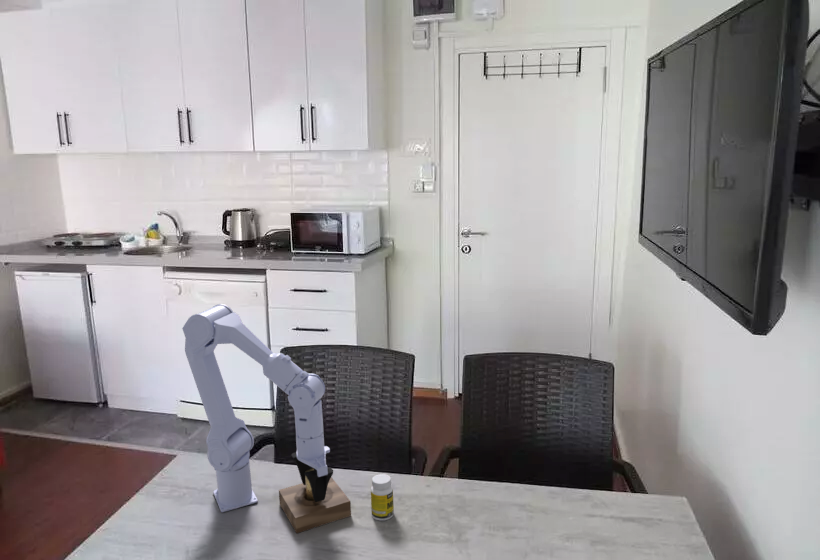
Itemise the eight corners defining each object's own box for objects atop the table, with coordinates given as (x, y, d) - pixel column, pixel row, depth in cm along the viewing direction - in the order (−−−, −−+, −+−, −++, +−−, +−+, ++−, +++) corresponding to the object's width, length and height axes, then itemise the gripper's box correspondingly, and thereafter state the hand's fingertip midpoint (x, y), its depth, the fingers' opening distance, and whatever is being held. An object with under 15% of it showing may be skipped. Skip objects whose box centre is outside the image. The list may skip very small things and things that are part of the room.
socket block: (279, 504, 132) (278, 490, 132) (331, 489, 138) (330, 475, 137) (296, 533, 122) (295, 518, 121) (351, 515, 128) (350, 500, 127)
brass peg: (305, 504, 130) (303, 470, 129) (318, 500, 132) (316, 467, 130) (310, 511, 128) (307, 477, 126) (323, 507, 129) (321, 473, 128)
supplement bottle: (391, 522, 125) (389, 485, 123) (369, 520, 126) (367, 483, 124) (396, 509, 129) (394, 473, 128) (374, 507, 130) (373, 471, 129)
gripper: (340, 442, 122) (343, 502, 125) (316, 416, 134) (319, 471, 137) (306, 450, 119) (311, 512, 121) (285, 423, 131) (289, 479, 134)
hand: (313, 491), depth 129 cm, fingers open, 7 cm apart
